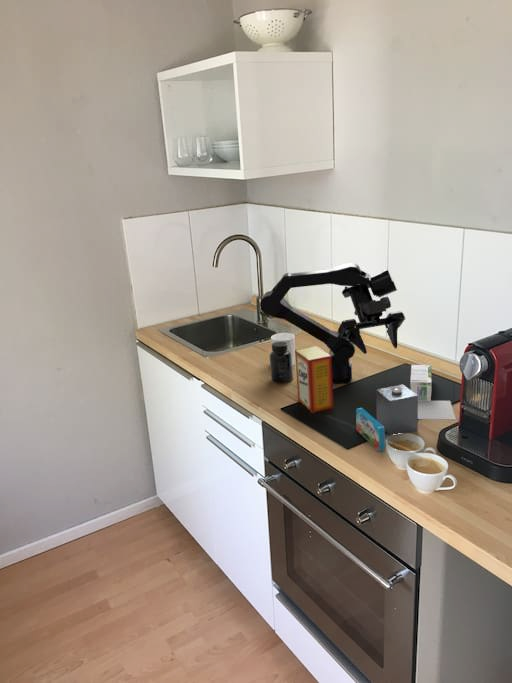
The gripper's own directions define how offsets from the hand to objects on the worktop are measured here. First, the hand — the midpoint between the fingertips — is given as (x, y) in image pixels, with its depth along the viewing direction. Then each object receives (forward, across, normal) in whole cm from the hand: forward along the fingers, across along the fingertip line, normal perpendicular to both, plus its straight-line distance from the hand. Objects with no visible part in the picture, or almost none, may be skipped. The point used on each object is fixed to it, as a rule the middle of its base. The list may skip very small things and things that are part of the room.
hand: (381, 350), depth 160 cm
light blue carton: (+26, -14, -6) cm, 30 cm away
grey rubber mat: (+20, +7, -1) cm, 21 cm away
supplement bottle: (-7, -23, +26) cm, 35 cm away
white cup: (-15, -18, +35) cm, 42 cm away
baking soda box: (+8, -20, +11) cm, 24 cm away
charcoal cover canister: (+24, -6, -4) cm, 25 cm away
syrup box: (+5, +14, +10) cm, 18 cm away
